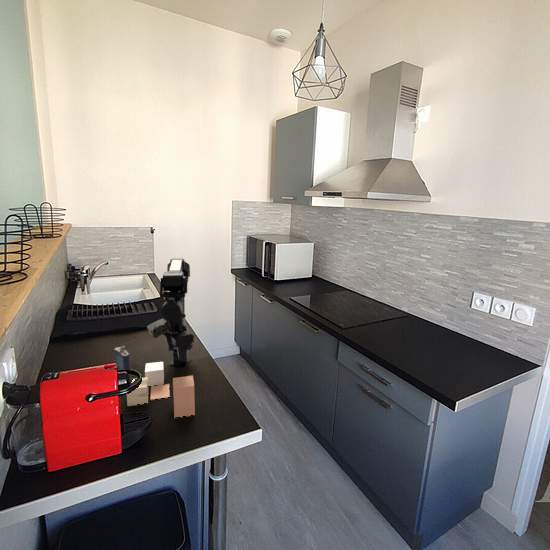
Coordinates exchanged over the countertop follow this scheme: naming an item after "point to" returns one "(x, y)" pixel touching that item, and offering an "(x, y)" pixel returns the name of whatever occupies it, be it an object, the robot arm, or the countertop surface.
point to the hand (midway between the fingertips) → (175, 355)
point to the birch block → (139, 393)
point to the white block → (155, 373)
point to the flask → (122, 358)
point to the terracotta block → (183, 396)
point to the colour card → (160, 392)
